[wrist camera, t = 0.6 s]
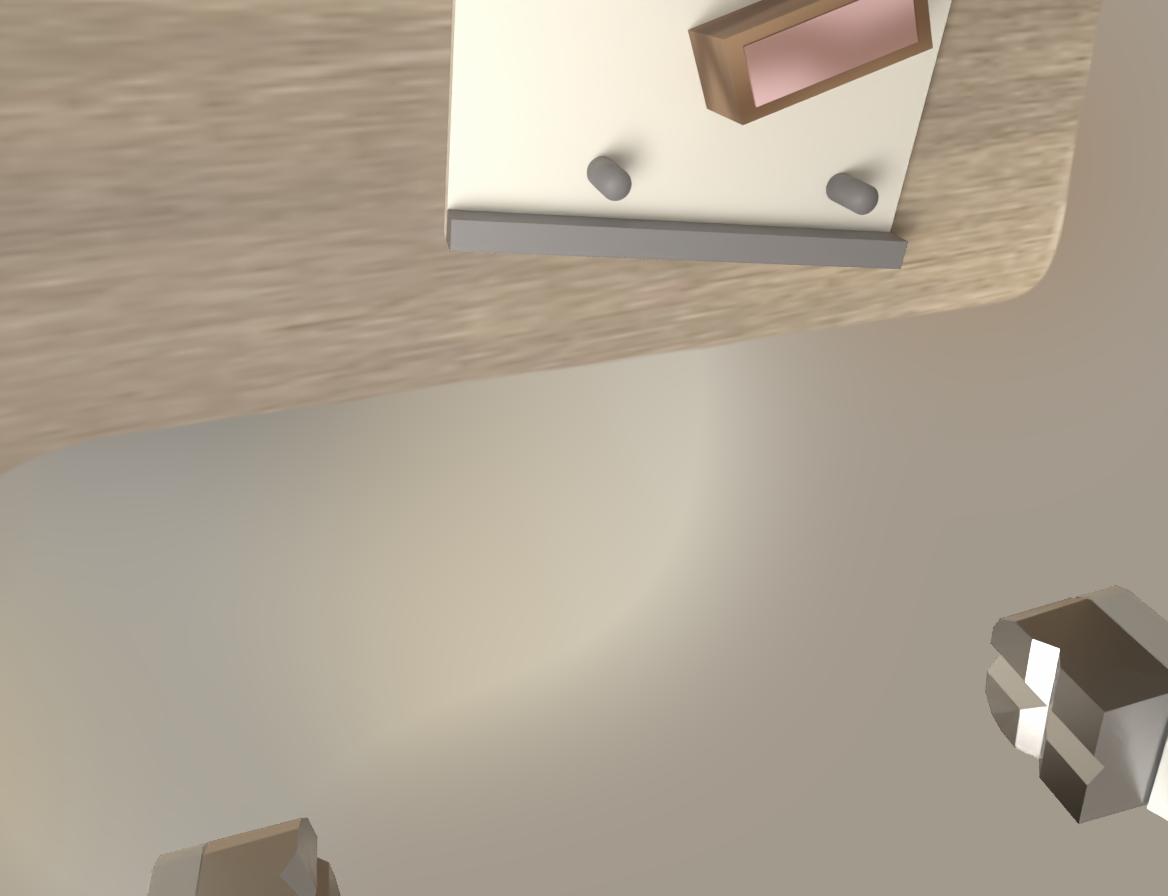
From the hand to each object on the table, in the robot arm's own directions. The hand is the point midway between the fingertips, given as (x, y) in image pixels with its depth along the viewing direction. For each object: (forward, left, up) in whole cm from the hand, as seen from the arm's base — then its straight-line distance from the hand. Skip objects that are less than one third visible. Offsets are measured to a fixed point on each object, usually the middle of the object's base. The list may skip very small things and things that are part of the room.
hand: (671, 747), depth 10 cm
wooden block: (-6, +19, -41) cm, 45 cm away
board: (-4, +15, -42) cm, 45 cm away
